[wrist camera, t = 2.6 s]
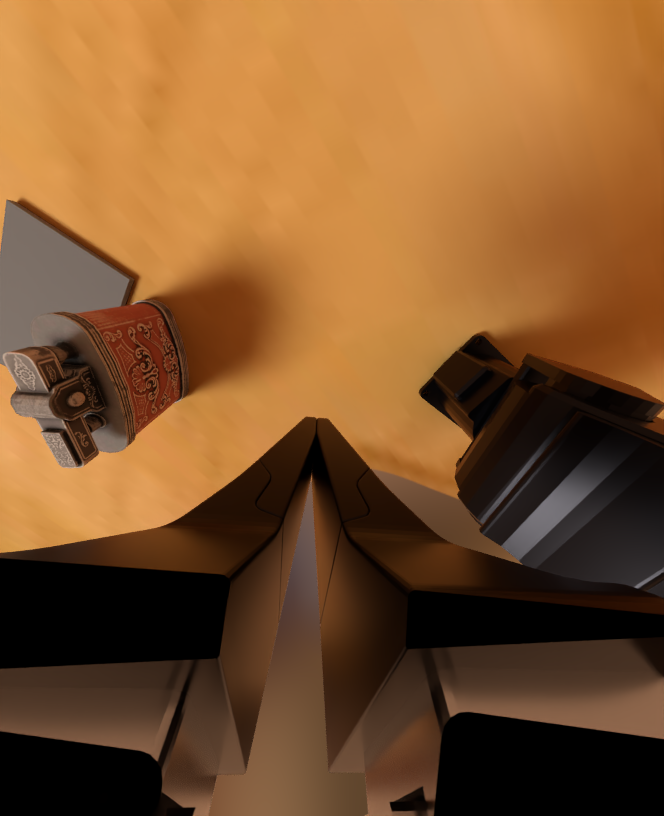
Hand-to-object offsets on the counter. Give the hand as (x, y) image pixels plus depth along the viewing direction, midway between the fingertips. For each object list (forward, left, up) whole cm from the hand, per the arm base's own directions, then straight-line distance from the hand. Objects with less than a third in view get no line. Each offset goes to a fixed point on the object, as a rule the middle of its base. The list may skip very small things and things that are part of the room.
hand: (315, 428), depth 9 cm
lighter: (+10, +8, -12) cm, 18 cm away
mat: (+17, +10, -12) cm, 23 cm away
